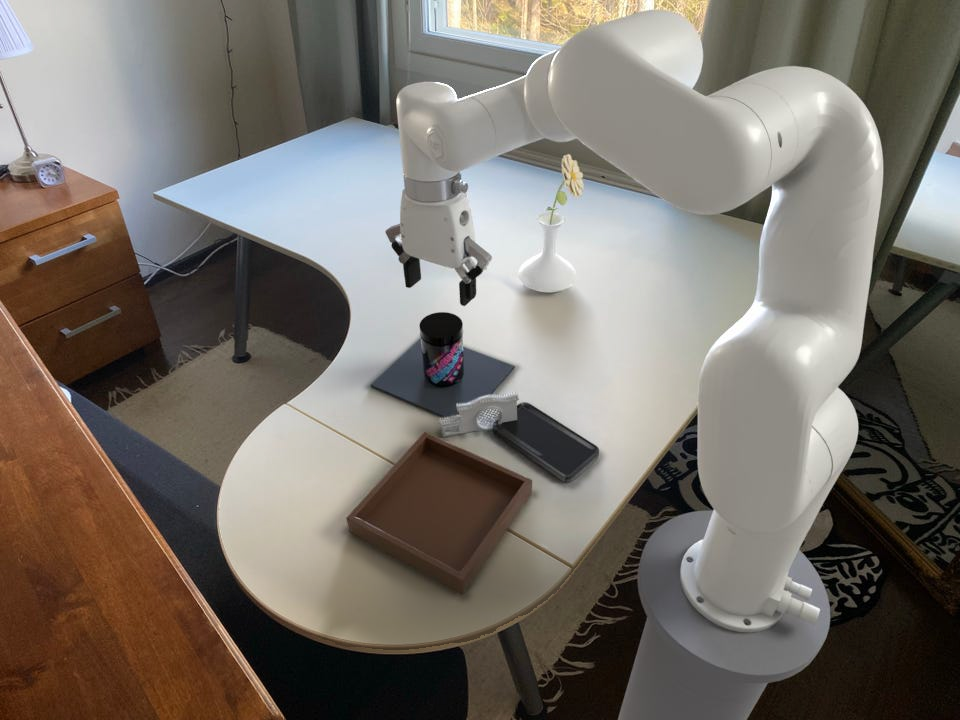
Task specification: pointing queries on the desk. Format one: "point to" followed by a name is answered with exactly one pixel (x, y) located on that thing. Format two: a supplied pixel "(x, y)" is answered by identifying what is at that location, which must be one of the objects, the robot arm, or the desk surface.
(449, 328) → the supplement container
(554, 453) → the phone
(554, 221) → the flower in vase
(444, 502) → the tray
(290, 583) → the desk surface
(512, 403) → the garden wall model
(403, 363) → the mat
